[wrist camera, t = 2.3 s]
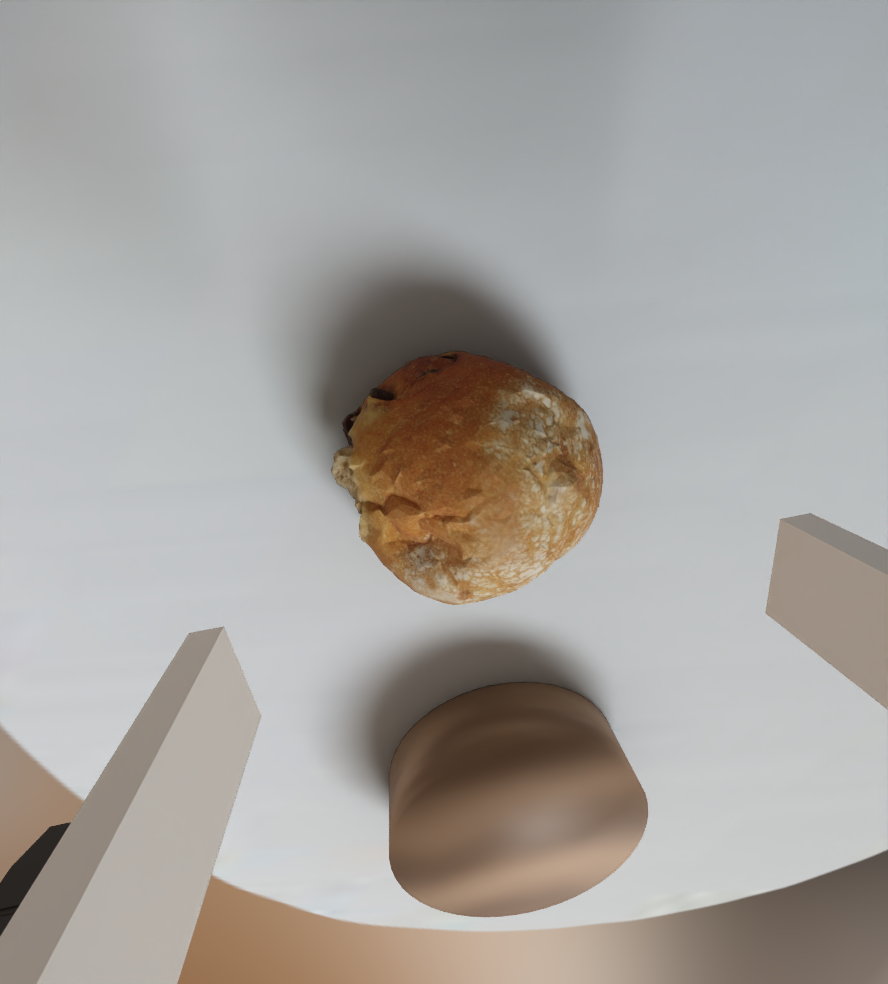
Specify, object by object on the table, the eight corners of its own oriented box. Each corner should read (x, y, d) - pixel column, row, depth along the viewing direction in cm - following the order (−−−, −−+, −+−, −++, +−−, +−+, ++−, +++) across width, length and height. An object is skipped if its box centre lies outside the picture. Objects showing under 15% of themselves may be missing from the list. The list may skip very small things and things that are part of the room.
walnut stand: (366, 710, 24) (362, 781, 21) (614, 661, 25) (653, 721, 21) (411, 860, 30) (414, 937, 26) (613, 817, 31) (644, 886, 27)
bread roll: (441, 543, 25) (519, 662, 20) (274, 483, 18) (322, 640, 13) (559, 402, 23) (686, 492, 17) (417, 272, 16) (554, 351, 10)
